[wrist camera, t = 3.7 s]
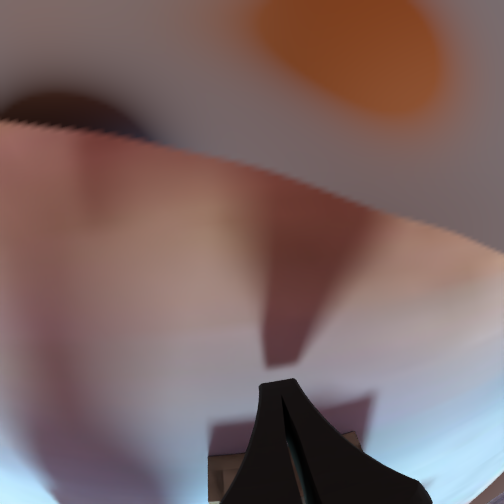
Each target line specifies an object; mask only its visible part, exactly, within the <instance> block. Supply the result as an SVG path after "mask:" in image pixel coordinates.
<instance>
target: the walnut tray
mask: <svg viewBox="0 0 504 504" xmlns="http://www.w3.org/2000/svg"><path fill="white" fill-rule="evenodd" d="M342 436H344V437H345V438H346V439H347V440H348V441H349V442H351V443H352V444H353V445H354V446H356V447H357V448H359V449H360V450H361V451H363V450H362V448H361V445H360V443H359V441H358V438H357V436H356V434H355V431H354V432H350V433H347V434H343V435H342ZM288 450H289V454H290V458H291V462H292V466H293V470H294V474H295V478H296V481H297V485H298V489H299V492H300V496H301V499H302V503H303V504H305V499H304V494H303V490H302V486H301V483H300V479H299V476H298V473H297V470H296V467H295V464H294V461H293V458H292V455H291V452H290V449H289V446H288ZM244 456H245V453H241V454H232V455H221V456H209V457H208V502H209V504H219V503H220V501H221V500H222V498H223V497H224V495H225V493H226V492H227V490H228V489H229V487H230V485H231V483H232V481H233V480H234V478H235V476H236V474H237V471H238V469H239V467H240V465H241V463H242V461H243V458H244Z"/></svg>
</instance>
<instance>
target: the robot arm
mask: <svg viewBox="0 0 504 504" xmlns="http://www.w3.org/2000/svg"><path fill="white" fill-rule="evenodd" d="M286 440H287V441H286ZM287 443H288V446H289V449H290V452H291V455H292V458H293V461H294V464H295V467H296V470H297V473H298V476H299V479H300V483H301V486H302V490H303V494H304V499H305V504H433V502H432V500H431V497H430V496H429V494H428V492H427V491H426V490H425V488H424V487H423V486H422V484H421V483H420V482H419V481H417V480H415V479H412V478H410V477H407V476H405V475H403V474H401V473H399V472H396V471H394V470H393V469H391V468H389V467H387V466H385V465H383V464H381V463H380V462H378V461H377V460H375V459H373V458H372V457H370V456H369V455H367V454H365V453H364V452H363V451H361V450H360V449H359V448H357V447H356V446H354V445H353V444H352V443H351V442H349V441H348V440H347V439H346V438H345V437H344V436H342V435H341V434H340V433H339V432H338V431H337V430H336V429H335V428H334V427H333V426H332V425H331V424H330V423H329V422H328V421H327V420H326V419H325V418H324V417H323V416H322V415H321V413H320V412H319V411H318V410H317V409H316V408H315V407H314V405H313V404H312V403H311V402H310V400H309V399H308V398H307V396H306V395H305V393H304V392H303V390H302V389H301V387H300V386H299V384H298V382H297V380H295V379H294V378H292V379H286V380H281V381H275V382H269V383H262V384H261V385H260V386H259V403H258V410H257V415H256V420H255V424H254V428H253V432H252V435H251V438H250V442H249V445H248V448H247V450H246V453H245V456H244V458H243V461H242V463H241V465H240V467H239V469H238V471H237V474H236V476H235V478H234V480H233V481H232V483H231V485H230V487H229V489H228V490H227V492H226V493H225V495H224V497H223V498H222V500H221V501H220V503H219V504H303V503H302V499H301V496H300V492H299V489H298V485H297V481H296V478H295V474H294V470H293V466H292V462H291V458H290V454H289V450H288V446H287ZM486 504H504V492H503V493H502V494H500V495H499V496H497V497H495V498H494V499H493V500H491V501H489V502H488V503H486Z"/></svg>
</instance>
